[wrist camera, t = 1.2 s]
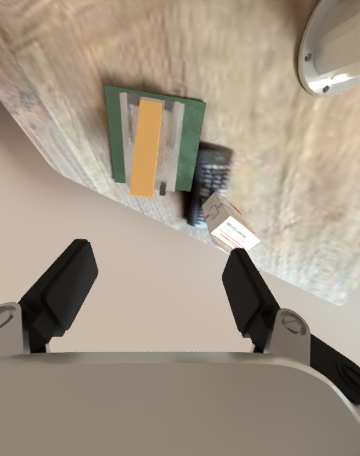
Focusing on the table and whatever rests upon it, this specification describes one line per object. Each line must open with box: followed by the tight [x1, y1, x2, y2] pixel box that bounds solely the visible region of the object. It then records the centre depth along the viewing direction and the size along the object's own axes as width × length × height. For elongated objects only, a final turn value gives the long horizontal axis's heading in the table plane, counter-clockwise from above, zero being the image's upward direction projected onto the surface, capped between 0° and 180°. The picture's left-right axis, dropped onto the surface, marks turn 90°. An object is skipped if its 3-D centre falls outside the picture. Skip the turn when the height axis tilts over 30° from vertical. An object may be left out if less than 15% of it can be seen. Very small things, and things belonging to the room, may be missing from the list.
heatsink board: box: [104, 85, 206, 196], centre depth 26 cm, size 15×16×7 cm
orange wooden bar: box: [129, 100, 163, 198], centre depth 21 cm, size 13×3×1 cm
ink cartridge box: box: [202, 191, 260, 255], centre depth 30 cm, size 9×5×15 cm, turn 52°
